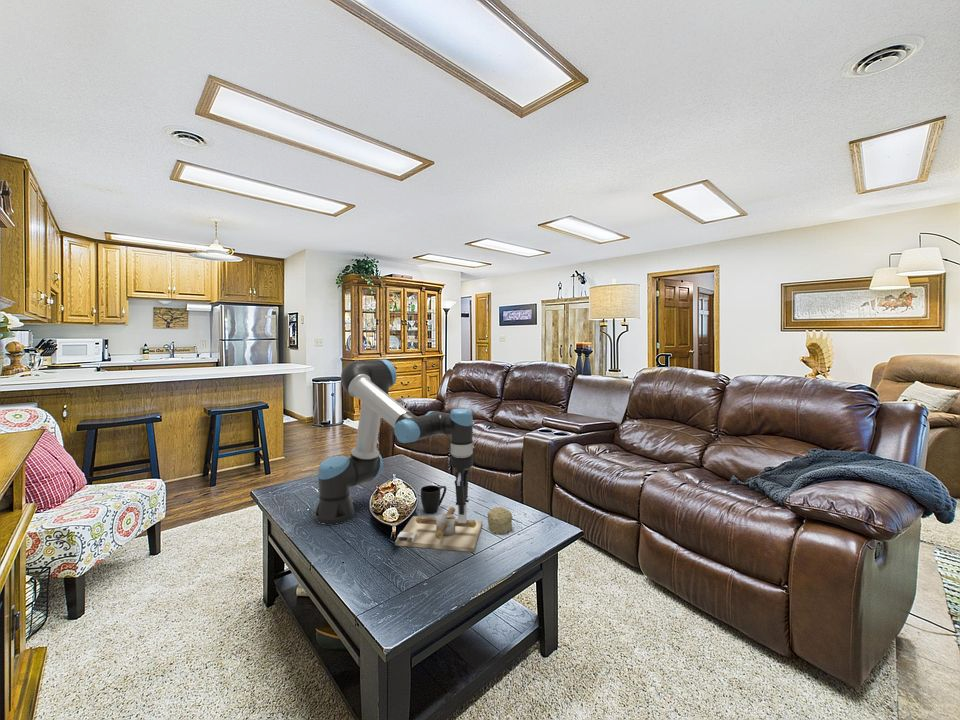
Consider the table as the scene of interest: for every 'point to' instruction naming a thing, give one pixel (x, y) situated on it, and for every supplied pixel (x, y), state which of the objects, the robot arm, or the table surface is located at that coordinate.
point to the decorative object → (499, 520)
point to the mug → (431, 498)
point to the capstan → (445, 523)
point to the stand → (426, 538)
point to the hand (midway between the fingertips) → (462, 522)
